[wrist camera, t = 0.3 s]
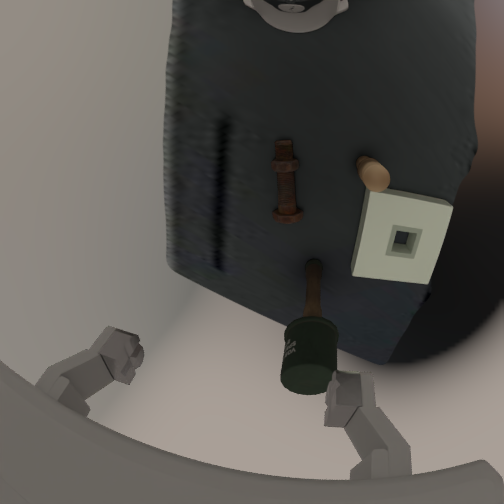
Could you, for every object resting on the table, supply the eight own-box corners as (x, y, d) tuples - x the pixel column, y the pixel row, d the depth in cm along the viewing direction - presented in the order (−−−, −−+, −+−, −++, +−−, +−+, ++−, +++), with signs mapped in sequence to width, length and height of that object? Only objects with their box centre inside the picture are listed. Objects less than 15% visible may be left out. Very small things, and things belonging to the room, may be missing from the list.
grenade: (297, 244, 59) (282, 358, 33) (337, 251, 58) (348, 367, 32) (291, 277, 63) (272, 392, 38) (328, 284, 62) (329, 400, 37)
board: (366, 185, 50) (370, 191, 46) (445, 200, 47) (453, 207, 43) (350, 265, 59) (352, 276, 55) (422, 274, 56) (427, 284, 52)
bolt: (289, 138, 50) (293, 212, 57) (264, 140, 49) (270, 216, 56) (303, 140, 45) (306, 221, 52) (276, 142, 44) (282, 226, 51)
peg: (354, 151, 47) (365, 163, 38) (376, 154, 46) (392, 167, 37) (351, 173, 49) (361, 190, 40) (373, 176, 49) (387, 194, 39)
